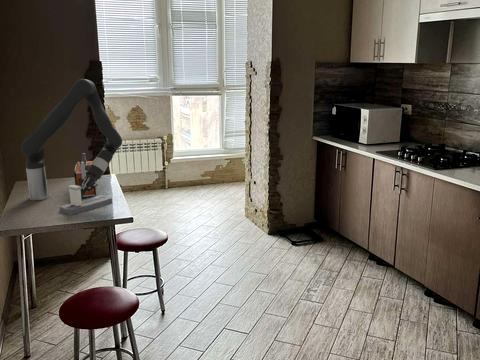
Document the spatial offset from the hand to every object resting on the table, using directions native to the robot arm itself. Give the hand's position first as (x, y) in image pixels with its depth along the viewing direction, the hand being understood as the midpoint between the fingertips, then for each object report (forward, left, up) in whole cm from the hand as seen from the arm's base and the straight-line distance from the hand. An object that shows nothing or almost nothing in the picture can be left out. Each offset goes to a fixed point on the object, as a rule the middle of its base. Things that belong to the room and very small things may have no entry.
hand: (79, 196), depth 227 cm
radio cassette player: (+8, +31, -7) cm, 33 cm away
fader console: (+3, +1, -6) cm, 7 cm away
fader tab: (-2, -1, -3) cm, 4 cm away
